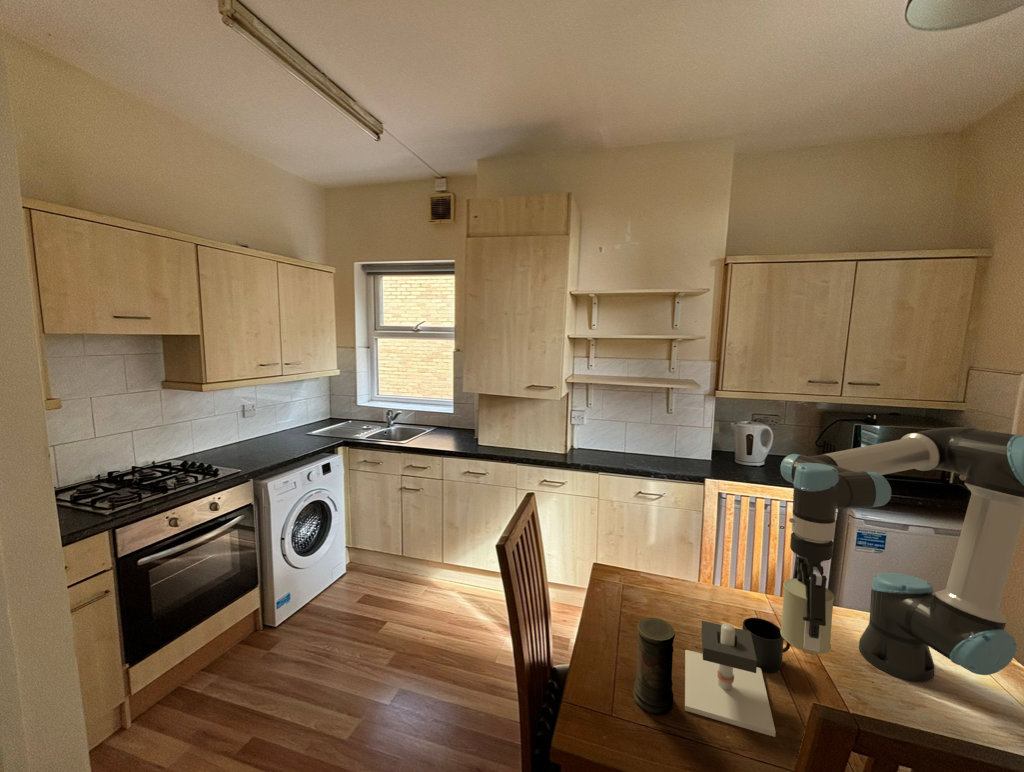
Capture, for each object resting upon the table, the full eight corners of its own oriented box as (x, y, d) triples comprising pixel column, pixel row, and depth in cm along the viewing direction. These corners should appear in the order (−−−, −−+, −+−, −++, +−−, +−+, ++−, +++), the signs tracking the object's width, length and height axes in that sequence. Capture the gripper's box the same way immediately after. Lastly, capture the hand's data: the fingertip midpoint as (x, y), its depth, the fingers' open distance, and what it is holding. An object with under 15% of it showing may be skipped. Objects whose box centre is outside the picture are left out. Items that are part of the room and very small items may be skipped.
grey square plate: (749, 642, 107) (750, 631, 107) (756, 673, 97) (756, 660, 97) (701, 631, 112) (701, 620, 111) (702, 659, 101) (703, 647, 101)
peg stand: (760, 672, 111) (764, 612, 110) (775, 737, 93) (779, 666, 91) (685, 653, 118) (687, 597, 116) (684, 710, 99) (687, 644, 98)
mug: (799, 674, 111) (802, 641, 110) (752, 672, 111) (753, 639, 110) (778, 649, 120) (780, 618, 119) (734, 647, 120) (736, 616, 120)
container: (629, 684, 107) (631, 615, 106) (666, 685, 107) (668, 616, 105) (639, 715, 98) (641, 640, 97) (679, 716, 98) (682, 641, 96)
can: (829, 635, 96) (832, 583, 95) (832, 660, 89) (836, 604, 88) (780, 621, 101) (783, 572, 100) (779, 643, 94) (783, 591, 93)
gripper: (781, 515, 104) (775, 604, 106) (804, 555, 84) (797, 663, 86) (818, 520, 102) (812, 611, 104) (851, 562, 82) (842, 674, 84)
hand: (805, 635), depth 95 cm, fingers closed on can, 9 cm apart
